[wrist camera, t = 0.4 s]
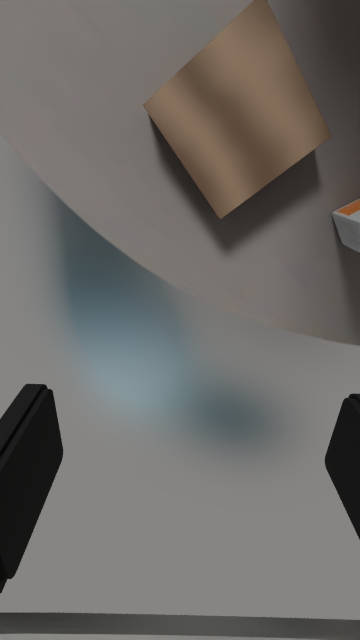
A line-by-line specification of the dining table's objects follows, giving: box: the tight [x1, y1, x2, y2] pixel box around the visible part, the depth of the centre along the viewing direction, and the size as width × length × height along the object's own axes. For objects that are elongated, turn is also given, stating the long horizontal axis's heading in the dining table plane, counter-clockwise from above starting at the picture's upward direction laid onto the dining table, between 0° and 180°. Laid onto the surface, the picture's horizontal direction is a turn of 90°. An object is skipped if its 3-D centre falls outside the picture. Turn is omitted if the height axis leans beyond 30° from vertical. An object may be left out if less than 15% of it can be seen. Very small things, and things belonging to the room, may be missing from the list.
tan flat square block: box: [143, 0, 331, 219], centre depth 31 cm, size 12×12×5 cm
